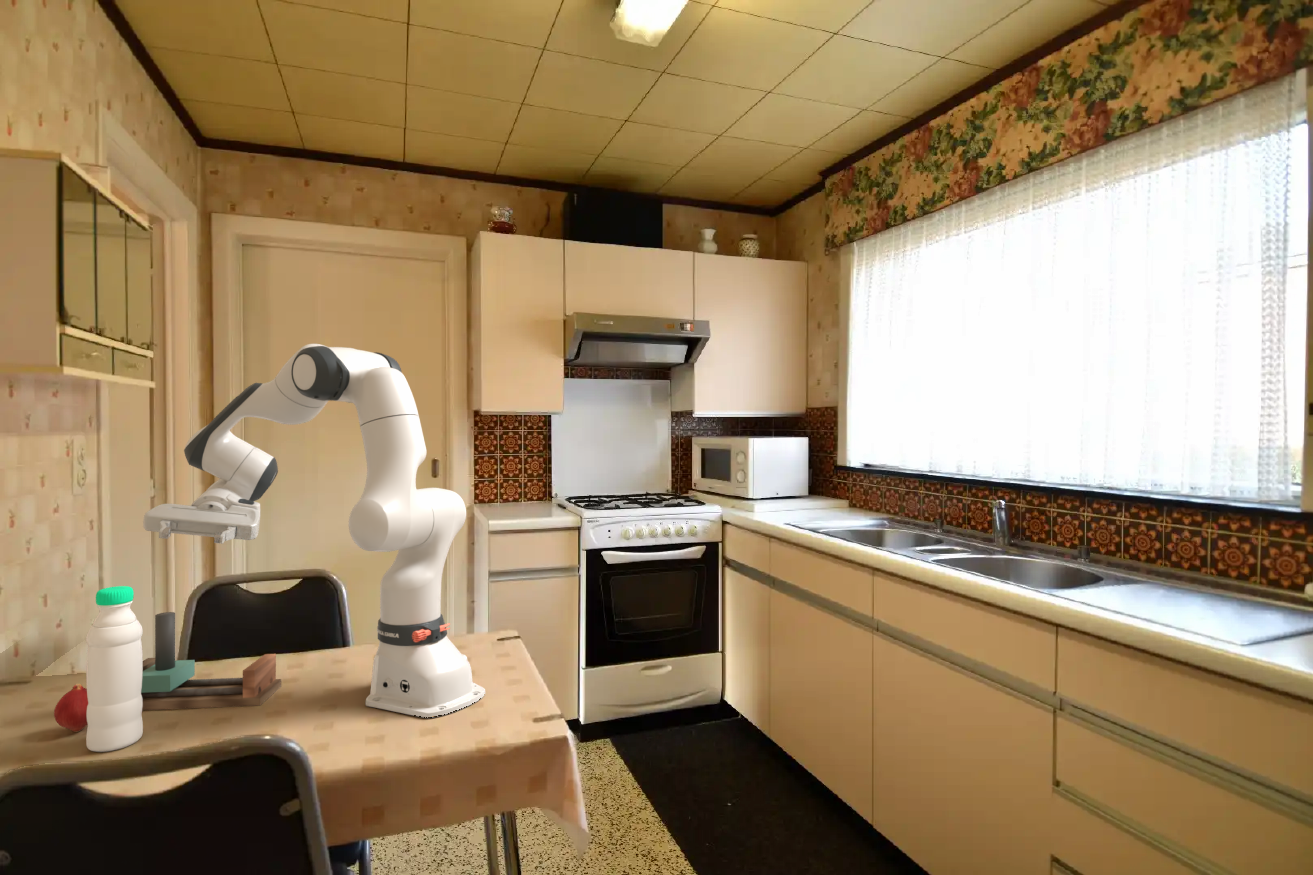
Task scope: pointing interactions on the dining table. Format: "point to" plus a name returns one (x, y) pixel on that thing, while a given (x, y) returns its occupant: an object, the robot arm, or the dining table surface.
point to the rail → (218, 689)
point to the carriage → (166, 659)
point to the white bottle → (114, 673)
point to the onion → (73, 709)
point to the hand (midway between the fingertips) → (191, 537)
